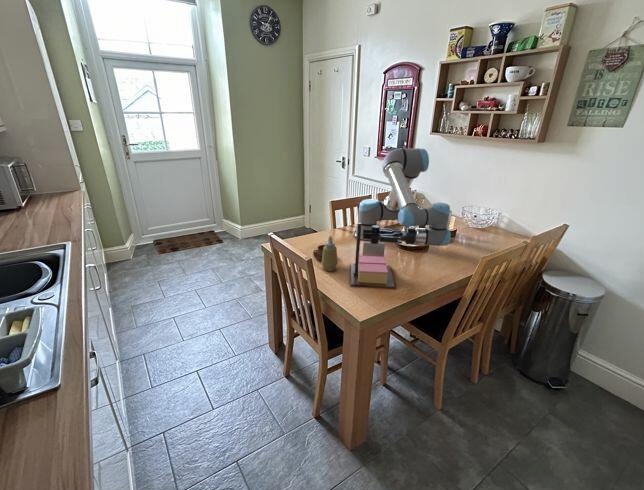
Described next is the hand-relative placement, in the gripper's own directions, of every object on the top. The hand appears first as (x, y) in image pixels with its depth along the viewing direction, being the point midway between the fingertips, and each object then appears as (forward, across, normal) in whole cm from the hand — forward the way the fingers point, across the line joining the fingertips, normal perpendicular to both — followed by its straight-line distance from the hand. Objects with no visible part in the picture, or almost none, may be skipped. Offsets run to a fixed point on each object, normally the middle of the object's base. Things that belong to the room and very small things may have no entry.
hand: (363, 234), depth 152 cm
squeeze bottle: (+16, +5, -22) cm, 28 cm away
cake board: (-5, 0, -22) cm, 23 cm away
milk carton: (-52, +55, -22) cm, 79 cm away
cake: (-5, 0, -22) cm, 23 cm away
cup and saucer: (+19, +18, -22) cm, 34 cm away
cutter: (-5, 0, -11) cm, 12 cm away
